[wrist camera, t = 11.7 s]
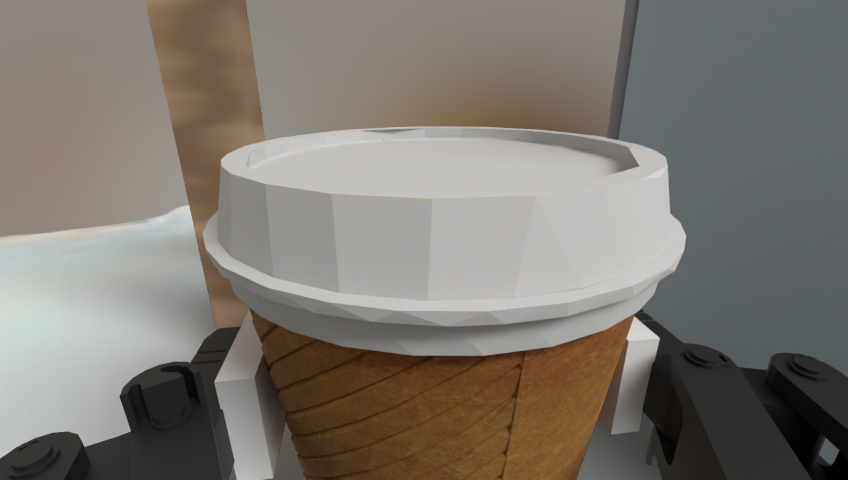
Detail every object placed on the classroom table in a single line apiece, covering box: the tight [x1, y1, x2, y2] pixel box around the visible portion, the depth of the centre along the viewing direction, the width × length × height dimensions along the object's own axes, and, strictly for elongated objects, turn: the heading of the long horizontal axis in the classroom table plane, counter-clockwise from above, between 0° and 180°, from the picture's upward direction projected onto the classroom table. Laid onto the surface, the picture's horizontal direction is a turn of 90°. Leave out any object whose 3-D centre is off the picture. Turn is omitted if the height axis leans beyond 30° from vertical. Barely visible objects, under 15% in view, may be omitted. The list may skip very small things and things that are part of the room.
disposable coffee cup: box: [203, 127, 686, 480], centre depth 11 cm, size 10×10×12 cm
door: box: [607, 0, 848, 465], centre depth 15 cm, size 19×4×20 cm, turn 8°
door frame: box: [145, 0, 265, 330], centre depth 21 cm, size 26×3×25 cm, turn 98°
